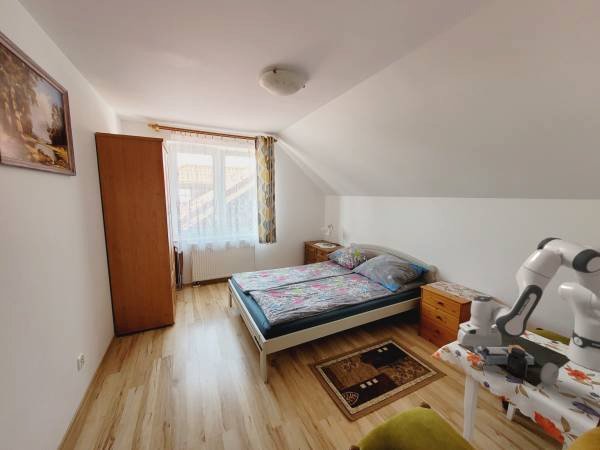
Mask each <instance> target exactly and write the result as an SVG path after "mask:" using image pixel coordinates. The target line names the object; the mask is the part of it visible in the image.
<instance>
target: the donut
mask: <svg viewBox="0 0 600 450" xmlns="http://www.w3.org/2000/svg"><path fill="white" fill-rule="evenodd" d="M559 375H560V370H559V367H558V366H557V365H556V364H554V363H552V362H547V363H545V364H544V365H543V367H542V369H541V371H540V377H539V378H540V381H541V383H542V384H543V385H545V386H548V387H551V386H552V387H553V386H554V385H555V384H556V383H557V381H558V378H559Z"/></svg>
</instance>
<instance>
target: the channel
mask: <svg viewBox="0 0 600 450" xmlns="http://www.w3.org/2000/svg"><path fill="white" fill-rule="evenodd" d="M479 347H480V346H478V348H479ZM485 347H486V348H501V349H502V350H503V351H505V352H506V353H507V356H486V358H485V357H483V356H482V355H481V354H480V353H476V354H477V355H478V356H479V357H480V358H481V359H482V360H483V361H484V362H486V363H487V365H507V361H508V349H509V346H485ZM525 357H526V359H527V361H528V363H527V366H528V365H531V366H532V365H533V366H534V365H535V363H534V361H535V357H534V356H532V355H531V354H529V352H527V351H525Z"/></svg>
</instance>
